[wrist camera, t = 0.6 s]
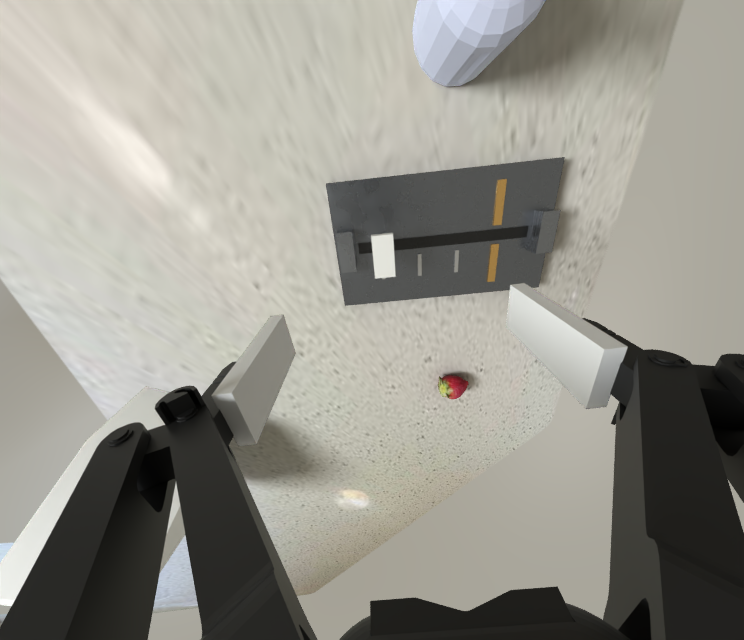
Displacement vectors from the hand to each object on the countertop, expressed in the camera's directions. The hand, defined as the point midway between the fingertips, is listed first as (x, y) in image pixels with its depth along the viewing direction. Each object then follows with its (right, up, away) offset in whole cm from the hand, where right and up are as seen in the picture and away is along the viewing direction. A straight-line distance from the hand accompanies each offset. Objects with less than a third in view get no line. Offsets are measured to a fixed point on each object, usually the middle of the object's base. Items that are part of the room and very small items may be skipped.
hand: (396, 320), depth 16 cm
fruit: (+13, -10, +33) cm, 37 cm away
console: (+8, +11, +21) cm, 25 cm away
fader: (0, +10, +19) cm, 21 cm away
